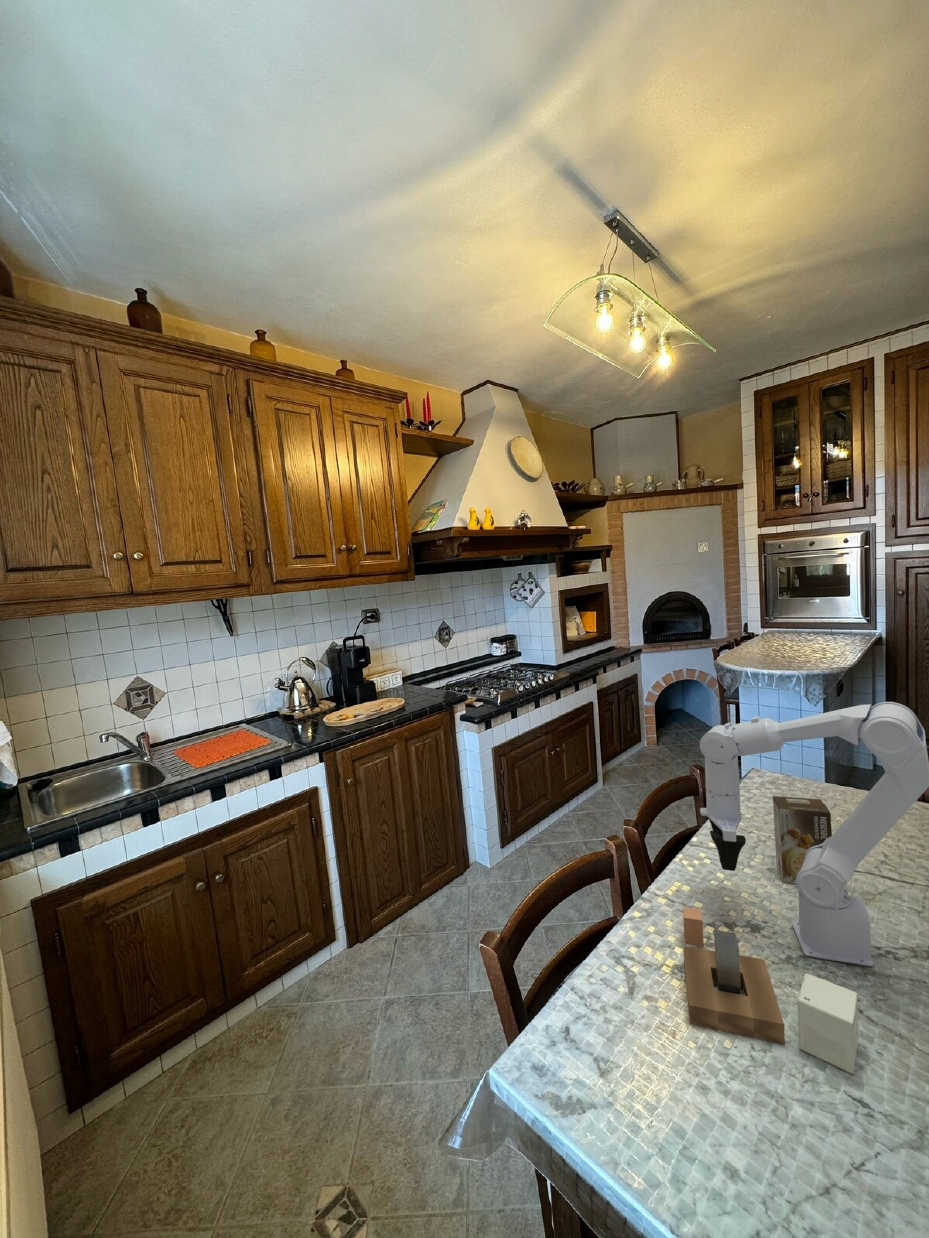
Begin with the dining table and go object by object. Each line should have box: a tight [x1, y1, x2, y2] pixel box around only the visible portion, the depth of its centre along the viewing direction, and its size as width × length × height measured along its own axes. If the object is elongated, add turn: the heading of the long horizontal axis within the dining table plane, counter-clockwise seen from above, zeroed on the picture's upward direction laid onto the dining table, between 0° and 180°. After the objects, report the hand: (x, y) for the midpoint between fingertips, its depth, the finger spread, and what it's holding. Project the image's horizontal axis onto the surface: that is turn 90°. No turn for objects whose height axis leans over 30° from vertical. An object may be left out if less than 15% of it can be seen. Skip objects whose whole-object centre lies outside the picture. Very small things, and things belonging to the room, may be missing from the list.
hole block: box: [682, 945, 786, 1045], centre depth 76 cm, size 12×12×3 cm
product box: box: [797, 972, 860, 1075], centre depth 67 cm, size 6×6×7 cm
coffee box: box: [772, 795, 833, 885], centre depth 102 cm, size 9×6×16 cm
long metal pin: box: [713, 929, 742, 995], centre depth 75 cm, size 3×3×10 cm
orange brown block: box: [682, 906, 705, 948], centre depth 88 cm, size 3×3×5 cm
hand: (725, 857), depth 94 cm, fingers open, 7 cm apart
